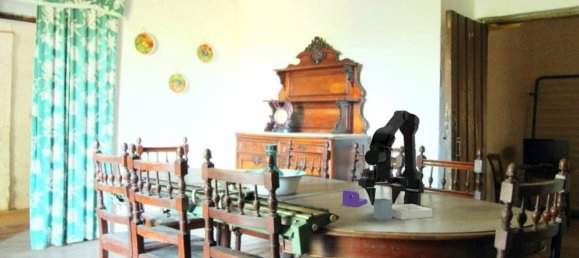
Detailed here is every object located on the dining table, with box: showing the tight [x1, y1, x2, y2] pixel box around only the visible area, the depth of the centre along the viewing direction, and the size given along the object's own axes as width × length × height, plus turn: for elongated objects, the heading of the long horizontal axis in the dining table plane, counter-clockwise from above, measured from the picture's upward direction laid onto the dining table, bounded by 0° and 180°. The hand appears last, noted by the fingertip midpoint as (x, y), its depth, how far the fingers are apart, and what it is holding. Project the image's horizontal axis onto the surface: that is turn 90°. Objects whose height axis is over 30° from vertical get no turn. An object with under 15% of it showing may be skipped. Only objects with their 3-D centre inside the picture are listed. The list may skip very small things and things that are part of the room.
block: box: [373, 198, 393, 221], centre depth 175 cm, size 5×5×7 cm
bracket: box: [342, 189, 369, 208], centre depth 204 cm, size 12×7×7 cm, turn 150°
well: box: [392, 203, 433, 221], centre depth 181 cm, size 14×12×3 cm
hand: (382, 204), depth 175 cm, fingers open, 9 cm apart
